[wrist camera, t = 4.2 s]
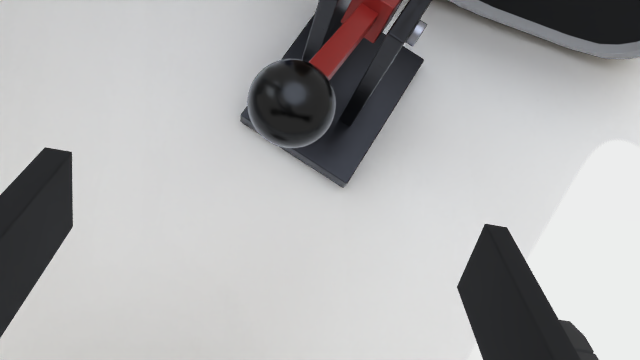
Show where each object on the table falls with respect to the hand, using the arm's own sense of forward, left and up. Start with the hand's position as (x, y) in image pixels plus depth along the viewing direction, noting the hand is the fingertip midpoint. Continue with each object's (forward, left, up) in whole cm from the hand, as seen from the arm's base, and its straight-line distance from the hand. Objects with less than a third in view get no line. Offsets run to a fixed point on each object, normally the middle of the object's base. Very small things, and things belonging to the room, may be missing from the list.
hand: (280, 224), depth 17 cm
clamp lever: (-2, +9, -7) cm, 12 cm away
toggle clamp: (-2, +15, -21) cm, 25 cm away
